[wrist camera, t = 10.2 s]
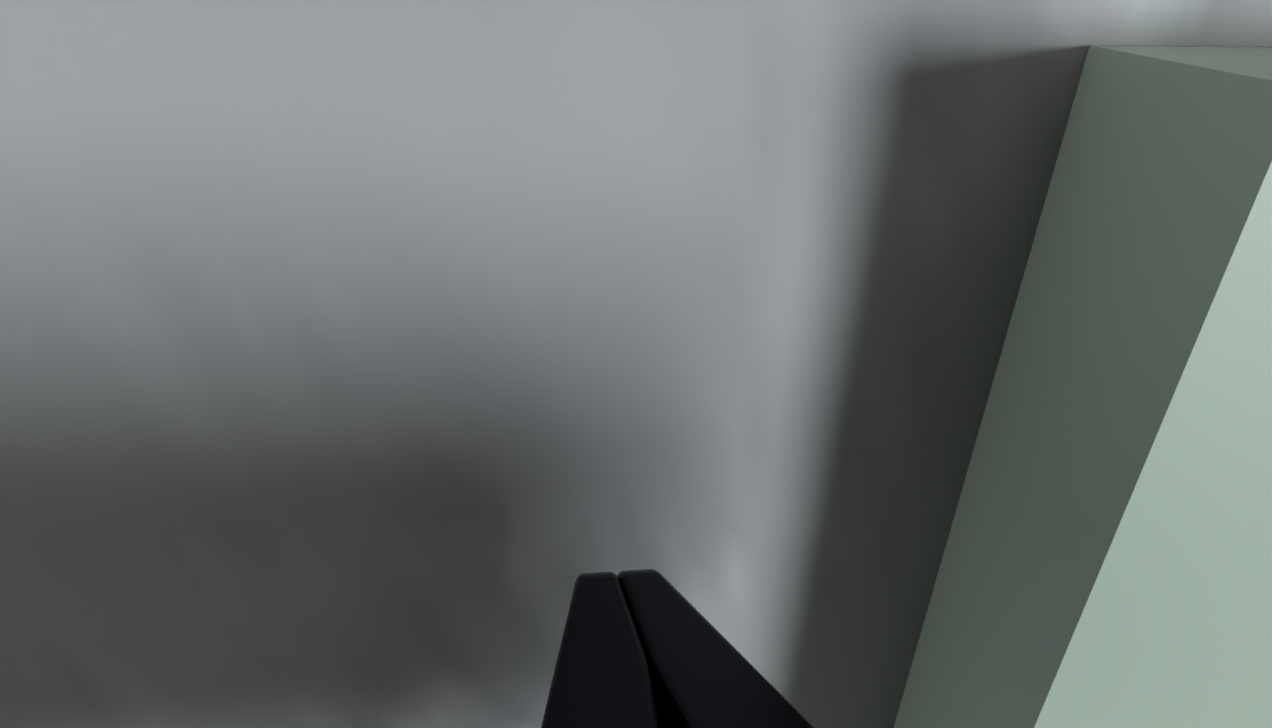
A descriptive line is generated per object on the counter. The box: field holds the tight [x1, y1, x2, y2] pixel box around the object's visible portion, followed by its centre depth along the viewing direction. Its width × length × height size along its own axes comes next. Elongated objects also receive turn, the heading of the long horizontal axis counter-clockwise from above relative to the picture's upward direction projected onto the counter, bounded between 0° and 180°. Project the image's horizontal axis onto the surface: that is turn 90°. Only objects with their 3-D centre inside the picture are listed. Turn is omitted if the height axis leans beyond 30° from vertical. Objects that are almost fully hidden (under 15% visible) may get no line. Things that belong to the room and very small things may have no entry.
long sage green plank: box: [894, 45, 1272, 728], centre depth 10 cm, size 12×5×3 cm, turn 178°
